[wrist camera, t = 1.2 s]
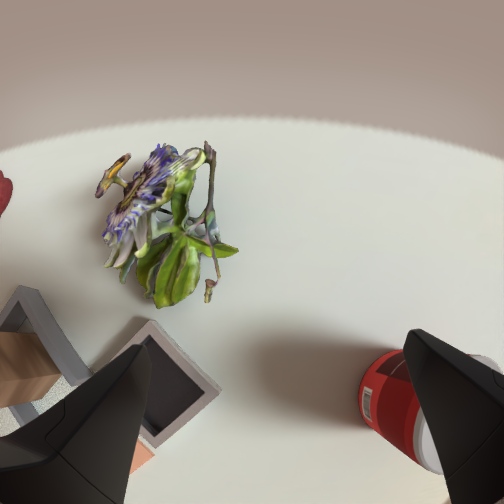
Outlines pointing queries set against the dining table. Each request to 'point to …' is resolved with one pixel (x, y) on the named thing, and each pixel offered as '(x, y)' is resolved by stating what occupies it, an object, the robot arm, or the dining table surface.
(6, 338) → the walnut block
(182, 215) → the passion flower
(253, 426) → the dining table surface
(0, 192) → the patty
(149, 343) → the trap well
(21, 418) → the channel
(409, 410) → the canned food
